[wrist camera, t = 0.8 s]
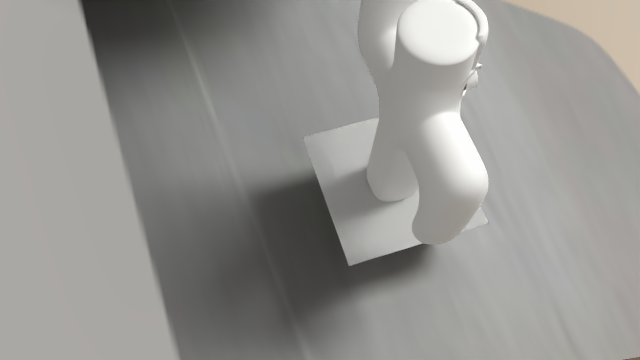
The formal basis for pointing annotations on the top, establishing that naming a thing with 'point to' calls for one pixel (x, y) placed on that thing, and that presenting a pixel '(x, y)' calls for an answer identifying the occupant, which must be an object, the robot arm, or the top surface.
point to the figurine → (408, 132)
